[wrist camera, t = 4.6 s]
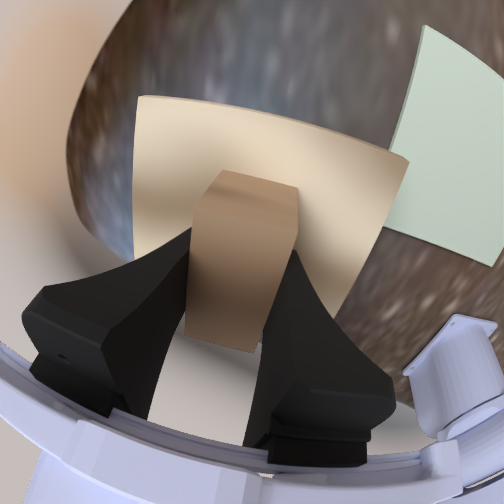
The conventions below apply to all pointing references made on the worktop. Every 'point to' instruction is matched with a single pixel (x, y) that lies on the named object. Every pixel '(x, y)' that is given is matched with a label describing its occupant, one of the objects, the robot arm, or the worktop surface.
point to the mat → (451, 152)
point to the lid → (255, 207)
